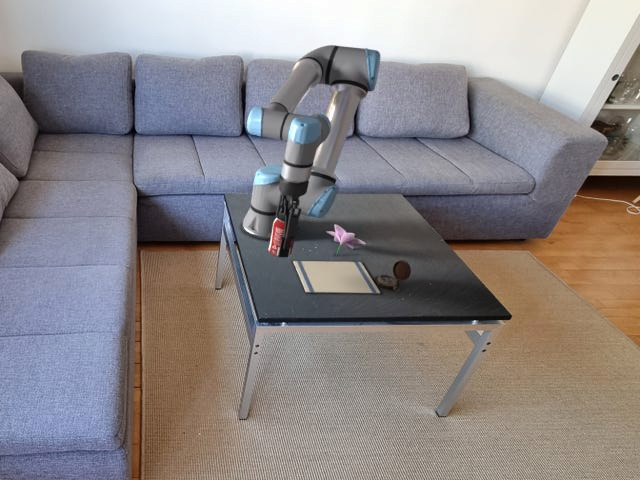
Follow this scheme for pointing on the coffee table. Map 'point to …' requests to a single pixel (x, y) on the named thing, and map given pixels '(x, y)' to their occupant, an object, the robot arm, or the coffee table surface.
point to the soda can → (278, 235)
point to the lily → (344, 237)
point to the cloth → (335, 277)
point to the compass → (395, 275)
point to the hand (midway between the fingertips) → (280, 249)
